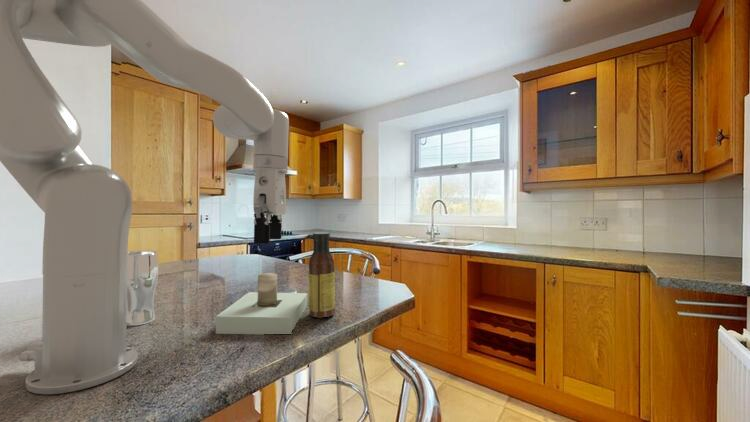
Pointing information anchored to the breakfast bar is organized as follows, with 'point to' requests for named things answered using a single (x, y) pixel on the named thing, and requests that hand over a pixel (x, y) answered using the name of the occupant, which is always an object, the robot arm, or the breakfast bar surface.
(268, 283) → the peg
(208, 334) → the breakfast bar surface
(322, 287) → the sauce bottle
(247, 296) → the seat board
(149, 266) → the beer glass
